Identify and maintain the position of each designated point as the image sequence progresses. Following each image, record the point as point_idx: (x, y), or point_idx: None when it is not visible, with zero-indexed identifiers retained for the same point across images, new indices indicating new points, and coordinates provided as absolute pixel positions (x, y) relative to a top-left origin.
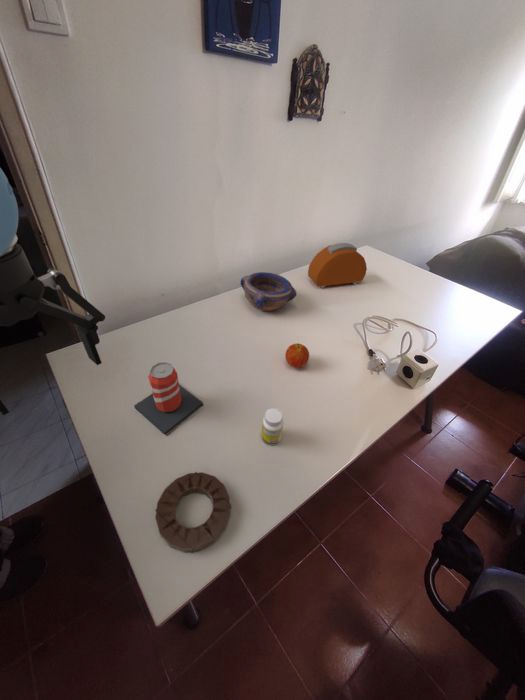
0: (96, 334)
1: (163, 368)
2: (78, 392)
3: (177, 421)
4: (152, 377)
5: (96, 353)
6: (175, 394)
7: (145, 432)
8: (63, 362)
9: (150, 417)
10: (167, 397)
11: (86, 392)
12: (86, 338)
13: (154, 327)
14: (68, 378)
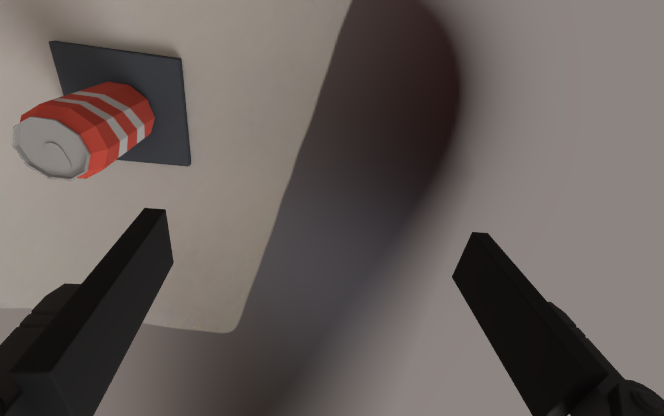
0: (19, 333)
1: (45, 153)
2: (244, 258)
3: (137, 56)
4: (92, 152)
5: (122, 244)
6: (84, 92)
7: (208, 100)
8: (228, 319)
9: (179, 116)
10: (107, 99)
11: (235, 250)
12: (79, 338)
13: (42, 294)
14: (240, 290)
